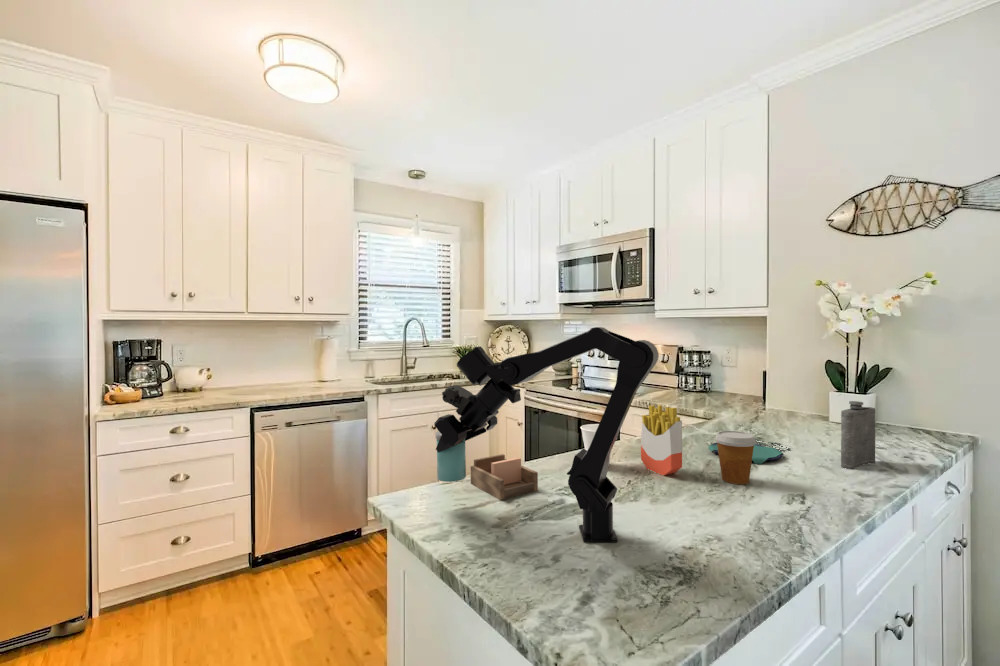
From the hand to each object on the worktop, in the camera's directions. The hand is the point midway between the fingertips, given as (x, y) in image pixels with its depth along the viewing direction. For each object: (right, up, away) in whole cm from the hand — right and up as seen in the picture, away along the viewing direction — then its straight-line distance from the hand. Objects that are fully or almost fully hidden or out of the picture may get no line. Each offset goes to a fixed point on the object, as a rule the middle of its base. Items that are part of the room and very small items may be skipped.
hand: (445, 447), depth 106 cm
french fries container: (+56, -13, +23) cm, 62 cm away
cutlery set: (+92, -12, +43) cm, 102 cm away
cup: (+41, -13, +30) cm, 52 cm away
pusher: (+14, -12, +11) cm, 21 cm away
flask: (+114, -12, +28) cm, 118 cm away
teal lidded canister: (+1, -7, -1) cm, 7 cm away
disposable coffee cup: (+73, -13, +16) cm, 76 cm away
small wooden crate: (+13, -13, +13) cm, 23 cm away
